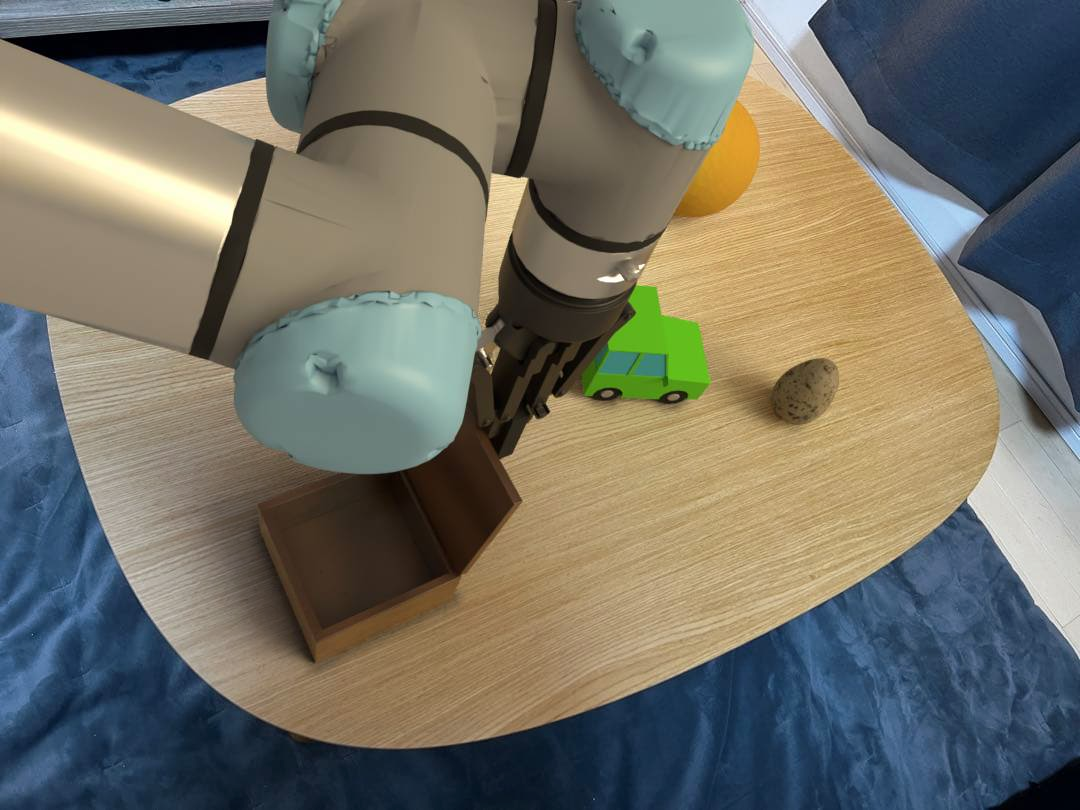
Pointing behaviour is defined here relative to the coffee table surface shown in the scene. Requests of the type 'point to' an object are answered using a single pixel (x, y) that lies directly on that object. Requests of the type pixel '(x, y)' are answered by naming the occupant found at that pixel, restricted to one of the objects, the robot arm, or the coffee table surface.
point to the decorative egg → (805, 391)
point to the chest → (356, 557)
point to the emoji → (724, 168)
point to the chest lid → (466, 493)
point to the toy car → (650, 357)
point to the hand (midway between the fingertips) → (496, 443)
